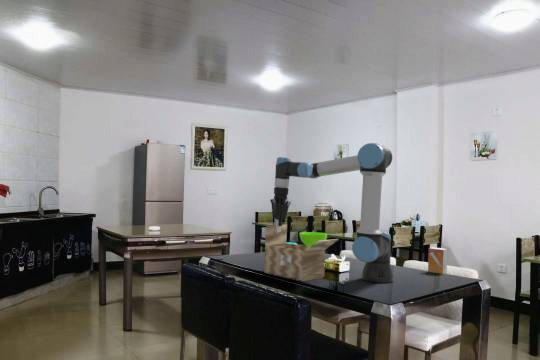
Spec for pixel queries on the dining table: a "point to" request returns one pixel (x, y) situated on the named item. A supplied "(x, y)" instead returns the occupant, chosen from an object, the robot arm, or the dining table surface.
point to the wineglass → (312, 237)
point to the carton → (294, 261)
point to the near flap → (321, 245)
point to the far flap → (275, 235)
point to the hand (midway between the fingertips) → (277, 232)
